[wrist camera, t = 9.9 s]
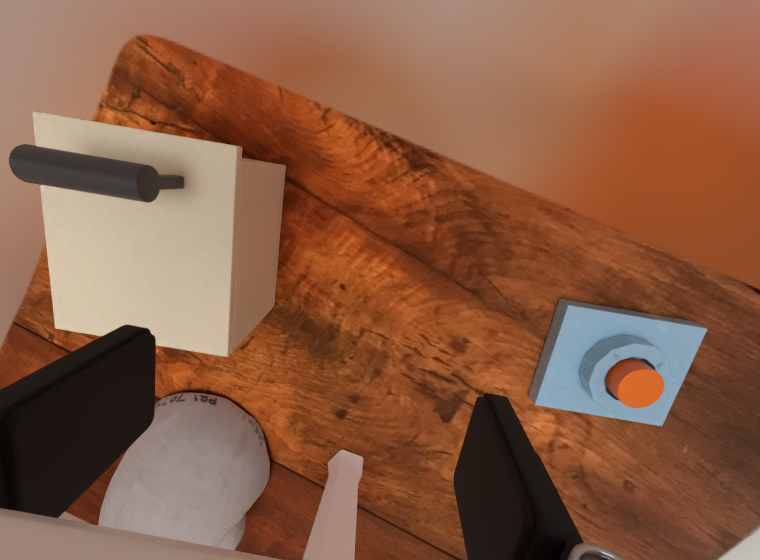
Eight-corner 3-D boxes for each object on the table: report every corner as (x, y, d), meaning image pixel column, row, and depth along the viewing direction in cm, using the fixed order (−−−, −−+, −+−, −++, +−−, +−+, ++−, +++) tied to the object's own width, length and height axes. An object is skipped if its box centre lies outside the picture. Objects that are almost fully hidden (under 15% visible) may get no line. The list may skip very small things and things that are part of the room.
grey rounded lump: (201, 448, 47) (198, 594, 37) (80, 435, 36) (33, 632, 27) (287, 393, 43) (309, 538, 34) (181, 361, 33) (169, 556, 23)
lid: (44, 113, 21) (-62, 93, 16) (242, 147, 21) (196, 137, 16) (65, 323, 24) (-16, 360, 20) (232, 351, 24) (192, 394, 20)
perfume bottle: (350, 489, 39) (324, 676, 24) (318, 467, 38) (272, 646, 24) (377, 464, 38) (367, 644, 23) (345, 441, 37) (313, 611, 22)
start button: (614, 354, 30) (627, 365, 28) (656, 362, 30) (672, 373, 28) (599, 391, 31) (611, 404, 29) (640, 398, 31) (654, 411, 29)
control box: (559, 298, 32) (579, 312, 28) (692, 320, 32) (727, 338, 28) (527, 394, 34) (542, 417, 31) (649, 414, 34) (676, 440, 31)
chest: (146, 141, 29) (46, 127, 21) (286, 165, 29) (242, 161, 21) (150, 285, 33) (66, 323, 24) (274, 306, 33) (232, 351, 24)
